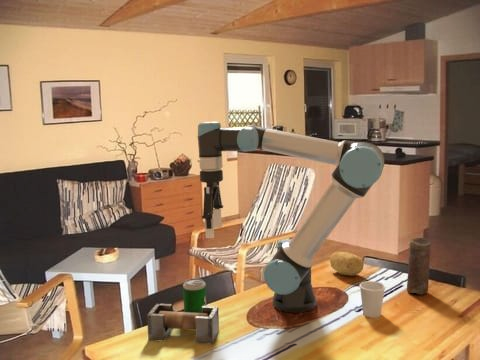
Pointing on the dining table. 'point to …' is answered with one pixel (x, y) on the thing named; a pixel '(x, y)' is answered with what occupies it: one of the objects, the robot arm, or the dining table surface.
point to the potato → (346, 263)
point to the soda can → (194, 295)
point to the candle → (418, 266)
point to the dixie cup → (372, 298)
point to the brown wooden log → (181, 319)
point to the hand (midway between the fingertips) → (214, 232)
